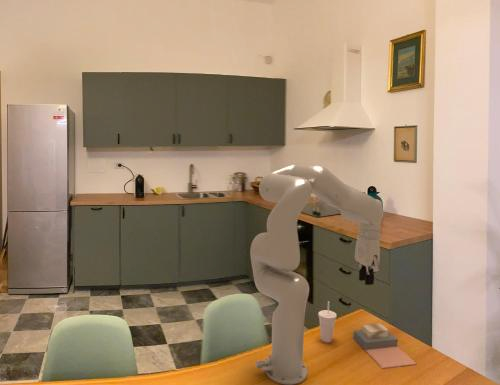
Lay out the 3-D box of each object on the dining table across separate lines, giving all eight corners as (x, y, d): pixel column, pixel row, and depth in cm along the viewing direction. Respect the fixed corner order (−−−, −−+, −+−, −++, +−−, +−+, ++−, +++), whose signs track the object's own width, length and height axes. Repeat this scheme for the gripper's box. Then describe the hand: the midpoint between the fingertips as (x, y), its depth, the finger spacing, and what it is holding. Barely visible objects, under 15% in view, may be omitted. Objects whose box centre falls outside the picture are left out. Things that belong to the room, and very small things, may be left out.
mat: (382, 368, 122) (382, 367, 122) (365, 350, 132) (365, 349, 132) (416, 364, 124) (416, 363, 124) (397, 347, 135) (397, 346, 135)
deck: (365, 350, 132) (365, 342, 132) (353, 338, 140) (353, 330, 140) (397, 347, 135) (397, 339, 134) (383, 335, 143) (384, 327, 142)
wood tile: (369, 338, 134) (370, 332, 134) (362, 331, 139) (362, 325, 138) (387, 337, 136) (388, 330, 135) (380, 330, 140) (380, 323, 140)
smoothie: (338, 338, 140) (340, 301, 138) (331, 346, 134) (333, 307, 133) (321, 333, 143) (322, 297, 141) (314, 340, 138) (315, 303, 136)
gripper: (348, 228, 147) (346, 275, 150) (371, 239, 131) (368, 291, 134) (366, 227, 149) (364, 273, 151) (391, 238, 133) (388, 290, 135)
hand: (366, 281), depth 143 cm, fingers open, 3 cm apart
